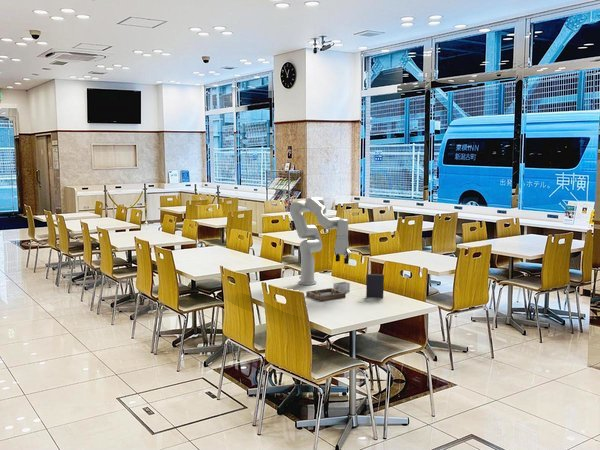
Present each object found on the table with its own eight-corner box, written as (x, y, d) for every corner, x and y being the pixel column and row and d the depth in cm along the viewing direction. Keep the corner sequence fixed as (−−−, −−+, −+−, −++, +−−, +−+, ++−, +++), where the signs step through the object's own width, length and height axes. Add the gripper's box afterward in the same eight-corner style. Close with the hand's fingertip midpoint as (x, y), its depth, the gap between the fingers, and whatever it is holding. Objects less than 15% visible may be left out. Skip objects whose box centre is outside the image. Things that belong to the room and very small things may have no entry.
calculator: (383, 296, 381) (383, 274, 379) (383, 298, 377) (383, 275, 375) (366, 296, 382) (366, 273, 380) (366, 297, 378) (366, 275, 376)
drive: (333, 292, 393) (333, 283, 392) (345, 290, 398) (345, 281, 398) (337, 293, 389) (337, 284, 388) (349, 291, 394) (349, 282, 393)
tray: (306, 296, 381) (306, 290, 380) (331, 292, 391) (331, 286, 391) (320, 301, 367) (320, 295, 367) (345, 297, 378) (345, 291, 378)
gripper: (330, 236, 394) (330, 260, 396) (345, 239, 379) (345, 265, 382) (339, 235, 398) (338, 259, 400) (354, 238, 383) (354, 264, 386)
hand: (341, 262), depth 391 cm, fingers open, 9 cm apart
